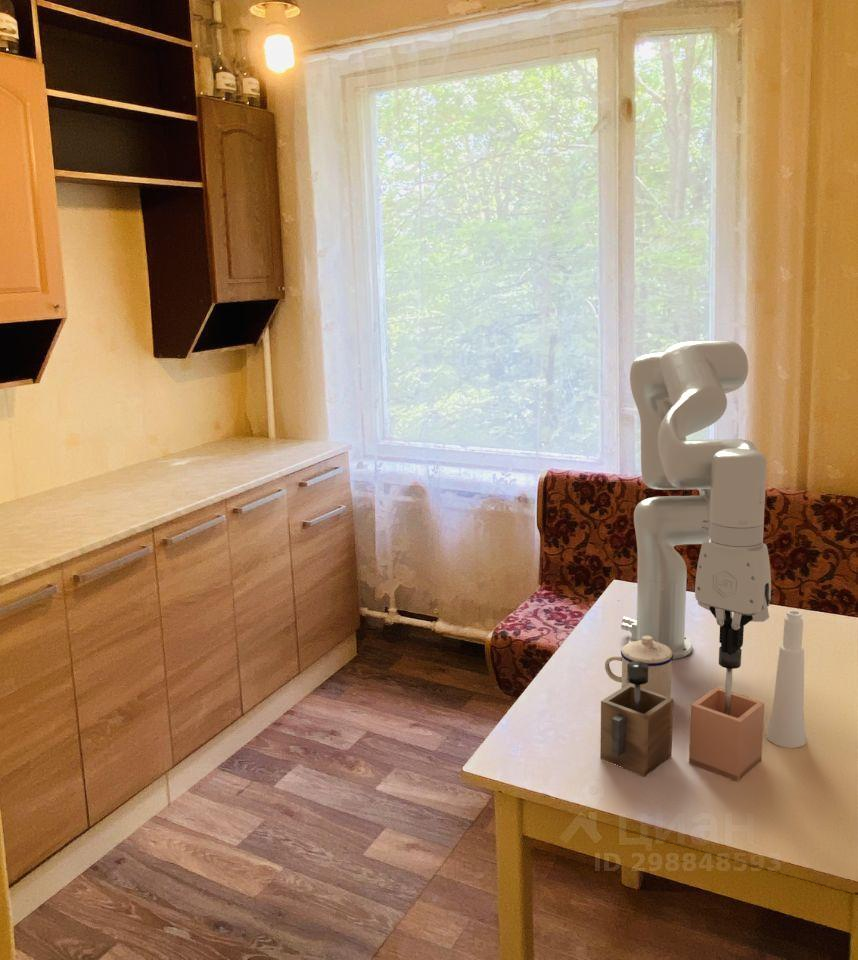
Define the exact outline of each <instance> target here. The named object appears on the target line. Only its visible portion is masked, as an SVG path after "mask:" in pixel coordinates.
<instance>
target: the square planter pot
mask: <svg viewBox="0 0 858 960" xmlns="http://www.w3.org/2000/svg"><path fill="white" fill-rule="evenodd" d="M765 706H766V705H765V702H764V701H760V700H758V699H754V698H751V697H749V696H746V695H745V694H744V695H743V694H739V693H736V692H734V691H731V712H730V715H727V714H724V708H725V689H724V688H720V687H718V686H715V687H714V688H713V689H711V690H709V692H707V693H706V694H704V695H703V696H701V697H700V698H699V699H697V700H696V701H694V702H693V703H691V704H690V717H689V718H690V722H689V747H688V748H689V749H688V750H689V751H688V764H690V765H692V766H694V767H698V768H700V769H702V770H704V771H707V772H710V773H712V774H715V775H717V776H719V777H723V778H725V779H728V780H730V781H731V782H736V783H739V782H740V781H741V780H742V779H743V778H744V777H745V776H747V774H749V773H750V772H751V771H752V770H753V769H754V768H755V767H756V766H757V765H758V764H760V763H761V762H762V756H763V755H762V753H763V738H764V721H765V718H764V717H765Z"/></svg>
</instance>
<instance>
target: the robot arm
mask: <svg viewBox="0 0 858 960" xmlns="http://www.w3.org/2000/svg"><path fill="white" fill-rule="evenodd" d="M748 373H749V361H748V357H747V354H746V351H745V350H744V349H743V347H742V345H740V344H739V343H737V342H735V341H734V340H733V341H732V340H708V341H707V340H705V341H704V340H703V341H684V342H679V343H675V344H673V345H671V346H669V347H668V348H666V350H665V351H664V352H654V353H647V354H644V355H641V356H638V357H636V359H634V361H633V362H632V363H631V366H630V372H629V383H630V390H631V393H632V398H633V400H634V403H635V406H636V409H637V412H638V415H639V419H640V420H639V421H640V422H639V423H640V469H641V470H640V471H641V478H642V482H643V484H644V486H646V487H647V488H650V489H653V490H661V491H662V490H669V491H670V490H676V491H677V490H697V491H698V492H699V495H683V496H681V495H668V496H667V495H666V496H663V495H662V496H652V497H648V498H645V499H642V500H641V501H639V502H638V503H637V505H635V508H634V510H633V524H634V525H633V526H634V530H635V537H636V538H635V541H636V549H637V552H636V553H637V554H636V555H637V572H636V573H637V580H636V581H637V582H636V583H637V586H636V587H637V588H636V589H637V590H636V619H634V618H632V617H629V616H623V618H622V621H621V626H620V628H621V630H624V631H628V632H630V633H631V635H630V636H629V637H628V640H627V641H628V642H627V643H630V642H633V641H639V640H641V638H642V637H643V636H651V637H652V638H653V641H655V642H658V643H662V644H664V645H666V646H667V647H669V648H670V649H671V651H672V653H673V659H672V660H675V659H680V658H683V657H686V656H687V655H690V653H692V650H693V642H692V641H691V640H690V639H689V638H688V637H687V636H686V634H685V633H686V632H685V631H686V629H685V628H686V607H687V606H686V604H687V603H686V602H687V600H686V598H687V575H688V574H687V573H688V572H687V564H686V562H685V560H684V558H683V557H682V556H681V554H680V553H679V551H677V550H676V549H675V546H682V545H701V548H700V551H699V554H698V556H699V557H698V561H697V567H696V573H695V574H696V575H695V584H694V597H695V599H696V601H697V604H698V605H699V607H702V608H704V609H705V610H708V611H709V612H710V613H711V614H712V615H713V617H714V618H715V619H716V624H717V625H718V626H719V637H718V638H719V643H720V647H721V651H723V652H728V653H730V654H733V653H734V652H736V651H737V650H739V649H741V648H742V647H743V645H744V632H745V631H744V628H745V626H746V625H747V624H748V623H750V622H753V623H755V622H756V623H757V622H758V623H759V622H760V623H761V622H762V623H764V622H765V621H767V620H768V619H769V618H770V614H769V608H768V607H770V604H771V598H772V597H771V594H772V574H771V562H770V555H769V551H768V549H769V548H768V546H767V544H766V543H764V528H765V527H764V526H765V504H766V486H767V471H768V470H767V468H768V466H767V465H768V463H767V457H766V456H765V454H764V453H762V452H761V451H760V450H759V449H758V448H757V445H755V444H754V443H753V442H752V441H750V440H749V439H748V440H747V439H742V438H741V439H739V438H737V439H736V438H735V439H733V438H732V439H694V440H691V439H690V440H687V437H688V436H690V435H692V434H695V433H698V432H699V431H701V430H704V429H706V428H708V427H710V426H712V425H714V424H715V423H716V422H718V421H719V420H720V419H721V417H722V416H723V415H724V414H725V412H726V410H727V405H728V400H727V395H726V394H729V393H731V392H734V391H736V390H739V389H740V388H741V387H742V386H743V385H744V384H745V382H746V381H747V377H748Z"/></svg>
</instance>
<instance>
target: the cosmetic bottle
mask: <svg viewBox="0 0 858 960" xmlns="http://www.w3.org/2000/svg"><path fill="white" fill-rule="evenodd" d="M802 616H803V613H802V612H801V611H800V610H799V611H798V610H793V609H792V610H791V609H790V610H787V611H786V616H785V618H784V622H783V635H782V636H783V637H782V643H781V644H780V645H779V651H778V658H777V659H778V660H777V667H776V668H777V669H776V675H775V685H774V693H773V700H772V708H771V712H770V713H771V714H770V719H769V722H768V727H767V731H766V734H765V736H766V738H767V740H768V741H769V742H771V744H774V745H777V746H779V747H782V748H786V749H797V748H801V747H803V746H805V745H806V743H807V736H806V727H805V707H804V706H805V705H804V703H805V698H804V697H805V696H804V695H805V694H804V693H805V648H804V647H803V646H802V645H803V631H804V619H803V618H802Z"/></svg>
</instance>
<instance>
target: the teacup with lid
mask: <svg viewBox="0 0 858 960" xmlns="http://www.w3.org/2000/svg"><path fill="white" fill-rule="evenodd" d="M673 660H674V659H673V653H672V651H671V649H670V648H669V647H667V646H666V645H664V644H662V643H658V642H655V641H653V638H652V637H651V636H643V637H642V638H641V640H639V641H633V642H630V643H628V642H627V643H626V644H625V645H624V646H623V647H622V648H621V650H620V654H618V655H617V654H614V655H610V656H608V657H607V658H606V659H605V663H604V671H605V673H606V674H607V676H608V677H609V678H610V679H611V680H612V681H615V683H616V682H617V683H621V688H623V687H624V686H626V685H628V684H632V683H630V682H628V681H627V664H628V663H630V662H633V661H640V662H644V663H646V664H648V666H649V670H648V682H647V683H646V684H642V685H640V687H641V688H644V689H647V690H650V691H652V692H655V693H658V694H661V695H664V696H667V697H670V698H672V696H671V691H672V690H671V689H672V665H673V664H672V661H673ZM613 661H618V662H621V676H618V675H616V674H614V673H613V672H612V670H611V668H610V662H613ZM632 685H635V684H632Z"/></svg>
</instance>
